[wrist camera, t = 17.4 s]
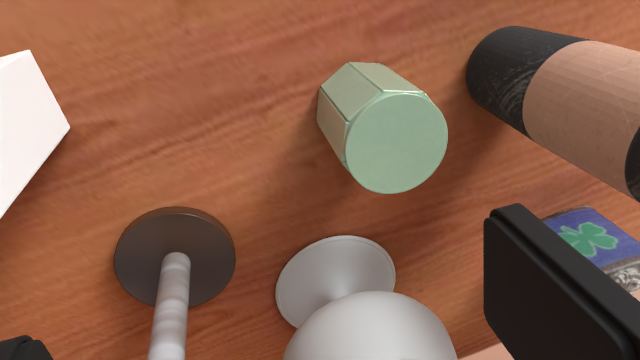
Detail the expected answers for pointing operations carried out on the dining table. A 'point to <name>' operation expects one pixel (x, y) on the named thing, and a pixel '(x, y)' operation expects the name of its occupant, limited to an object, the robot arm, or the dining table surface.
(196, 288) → the towel holder
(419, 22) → the dining table surface
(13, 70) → the milk
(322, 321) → the chalice
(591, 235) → the flask
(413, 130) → the green cup
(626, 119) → the travel mug
